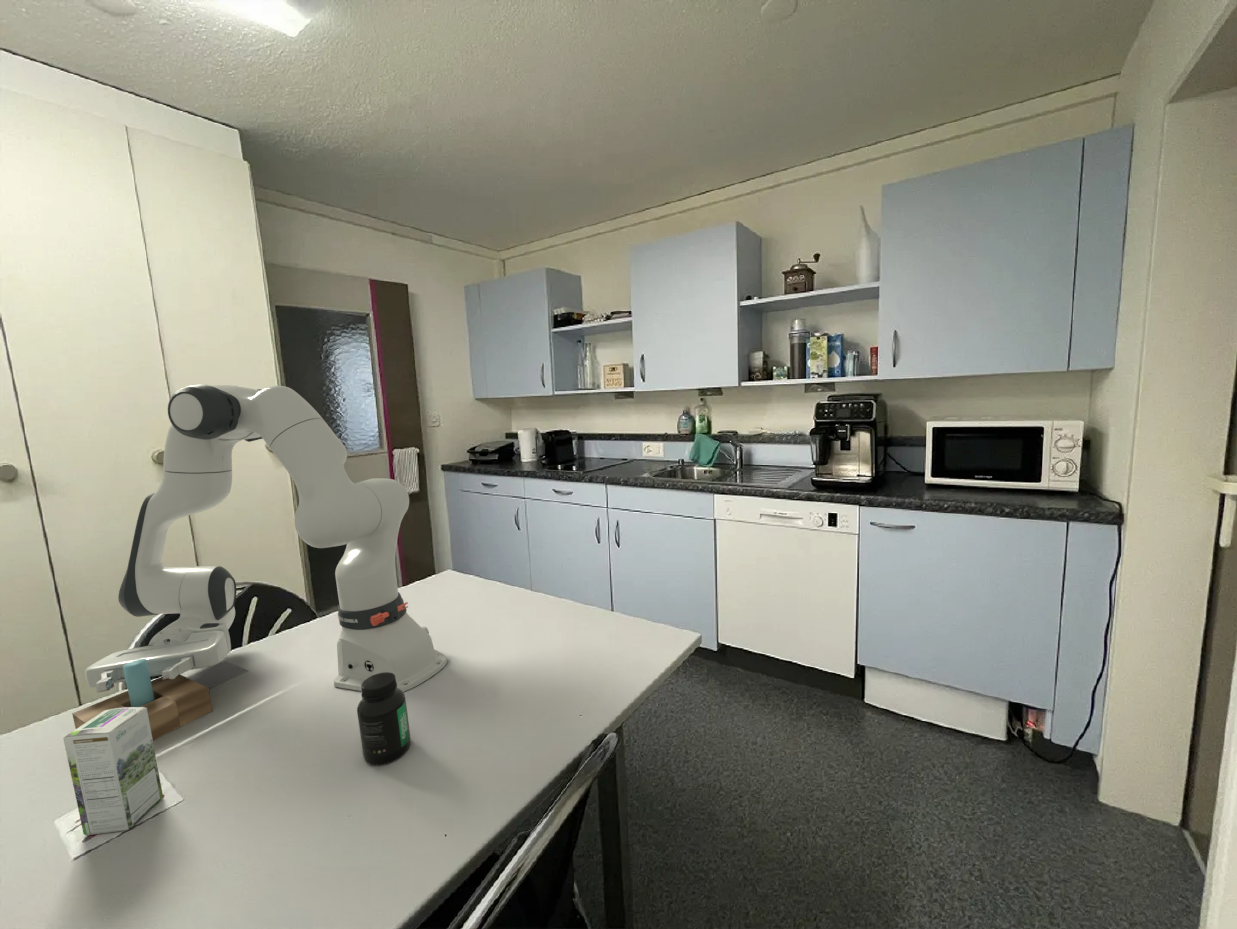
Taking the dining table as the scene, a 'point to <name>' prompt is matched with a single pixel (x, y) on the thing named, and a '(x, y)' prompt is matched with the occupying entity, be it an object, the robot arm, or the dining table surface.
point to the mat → (217, 674)
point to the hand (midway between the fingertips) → (134, 682)
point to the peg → (138, 682)
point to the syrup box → (113, 769)
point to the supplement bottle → (383, 720)
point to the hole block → (160, 705)
